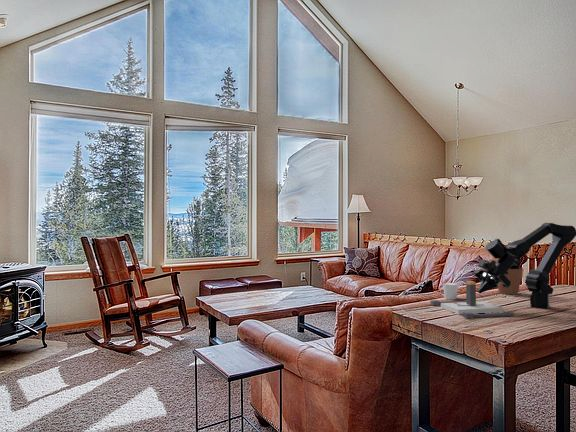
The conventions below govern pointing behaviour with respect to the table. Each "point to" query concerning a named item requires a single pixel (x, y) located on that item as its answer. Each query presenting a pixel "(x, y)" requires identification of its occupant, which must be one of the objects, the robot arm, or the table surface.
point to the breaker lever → (470, 293)
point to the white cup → (450, 290)
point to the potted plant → (512, 279)
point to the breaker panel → (471, 307)
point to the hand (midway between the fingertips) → (478, 292)
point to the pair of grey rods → (471, 315)
